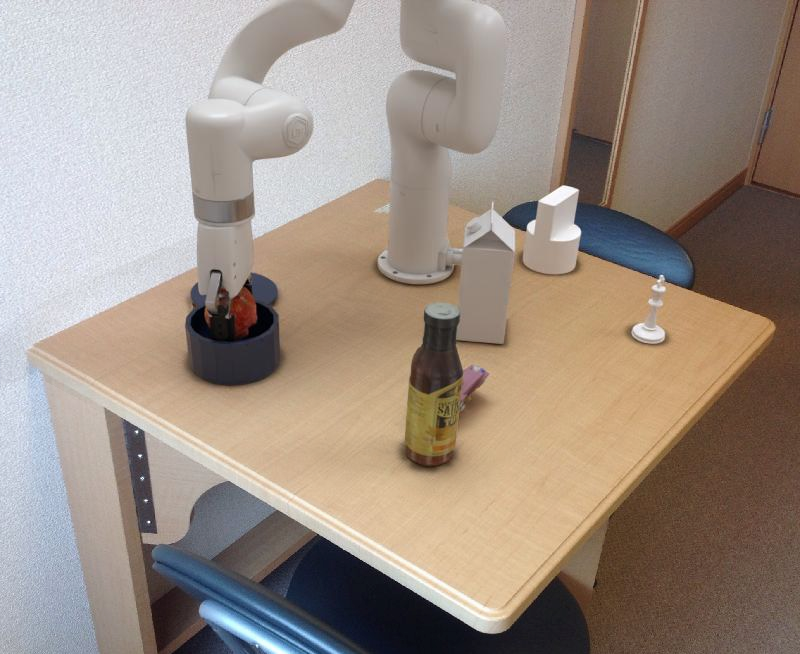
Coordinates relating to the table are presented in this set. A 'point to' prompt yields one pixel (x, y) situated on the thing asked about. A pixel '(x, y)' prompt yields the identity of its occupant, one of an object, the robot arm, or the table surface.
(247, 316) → the pomegranate
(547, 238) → the cylinder with rectangular tab
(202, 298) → the lid
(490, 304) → the milk carton
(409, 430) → the sauce bottle
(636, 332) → the chess piece
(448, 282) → the table surface
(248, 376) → the bowl
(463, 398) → the video game controller
